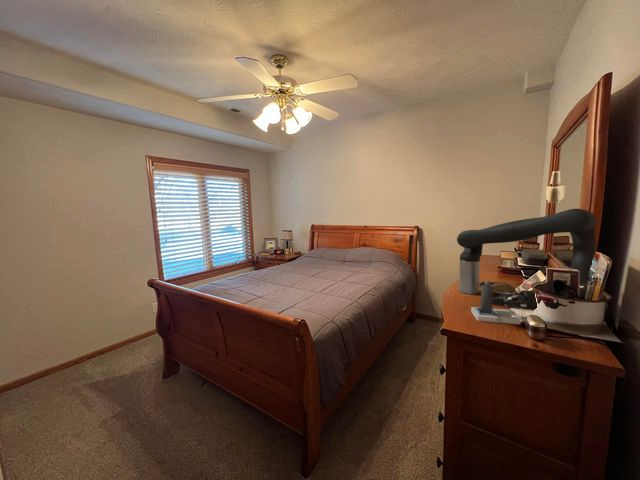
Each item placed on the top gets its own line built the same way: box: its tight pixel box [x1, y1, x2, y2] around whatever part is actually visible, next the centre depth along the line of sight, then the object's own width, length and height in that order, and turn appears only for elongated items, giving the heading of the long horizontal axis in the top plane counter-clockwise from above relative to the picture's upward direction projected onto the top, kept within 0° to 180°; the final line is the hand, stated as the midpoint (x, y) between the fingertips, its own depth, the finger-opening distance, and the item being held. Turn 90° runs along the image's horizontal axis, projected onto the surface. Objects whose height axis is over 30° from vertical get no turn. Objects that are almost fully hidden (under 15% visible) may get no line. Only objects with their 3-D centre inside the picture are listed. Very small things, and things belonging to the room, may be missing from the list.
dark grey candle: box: [480, 280, 493, 314], centre depth 108 cm, size 4×4×15 cm
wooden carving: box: [489, 282, 520, 303], centre depth 122 cm, size 16×5×10 cm, turn 74°
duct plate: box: [470, 306, 523, 325], centre depth 107 cm, size 10×15×2 cm, turn 73°
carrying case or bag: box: [479, 281, 512, 287], centre depth 143 cm, size 11×3×15 cm
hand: (489, 297), depth 107 cm, fingers open, 8 cm apart
